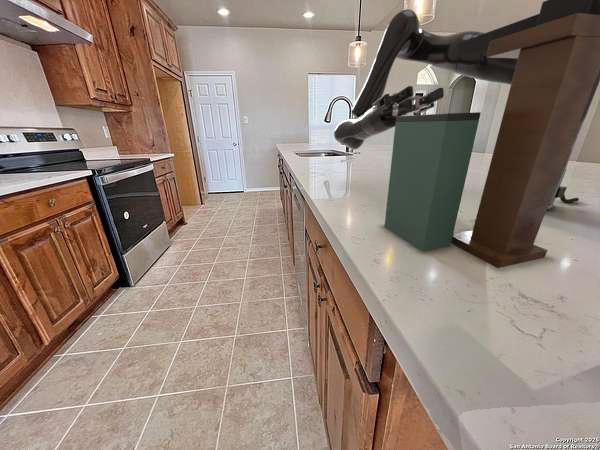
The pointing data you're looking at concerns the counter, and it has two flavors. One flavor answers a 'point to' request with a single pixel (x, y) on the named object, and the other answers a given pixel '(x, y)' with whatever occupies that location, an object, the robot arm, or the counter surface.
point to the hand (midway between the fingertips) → (427, 91)
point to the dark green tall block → (429, 176)
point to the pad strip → (529, 23)
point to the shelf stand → (533, 135)
